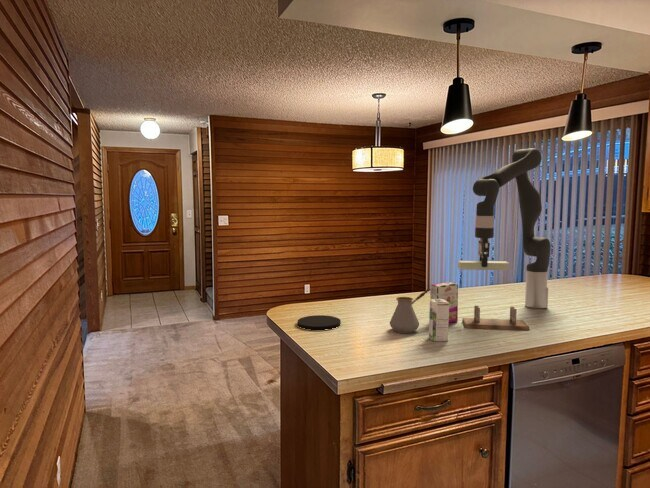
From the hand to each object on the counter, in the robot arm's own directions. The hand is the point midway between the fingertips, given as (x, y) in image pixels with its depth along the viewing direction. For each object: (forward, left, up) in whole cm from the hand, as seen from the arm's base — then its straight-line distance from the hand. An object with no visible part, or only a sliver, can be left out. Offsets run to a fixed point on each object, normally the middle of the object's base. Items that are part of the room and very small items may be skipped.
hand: (483, 265), depth 194 cm
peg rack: (-3, +11, -23) cm, 26 cm away
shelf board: (0, 0, -1) cm, 1 cm away
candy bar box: (+17, +9, -23) cm, 30 cm away
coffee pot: (+30, +20, -23) cm, 43 cm away
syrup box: (+21, +33, -23) cm, 45 cm away
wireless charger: (+68, +20, -24) cm, 75 cm away
